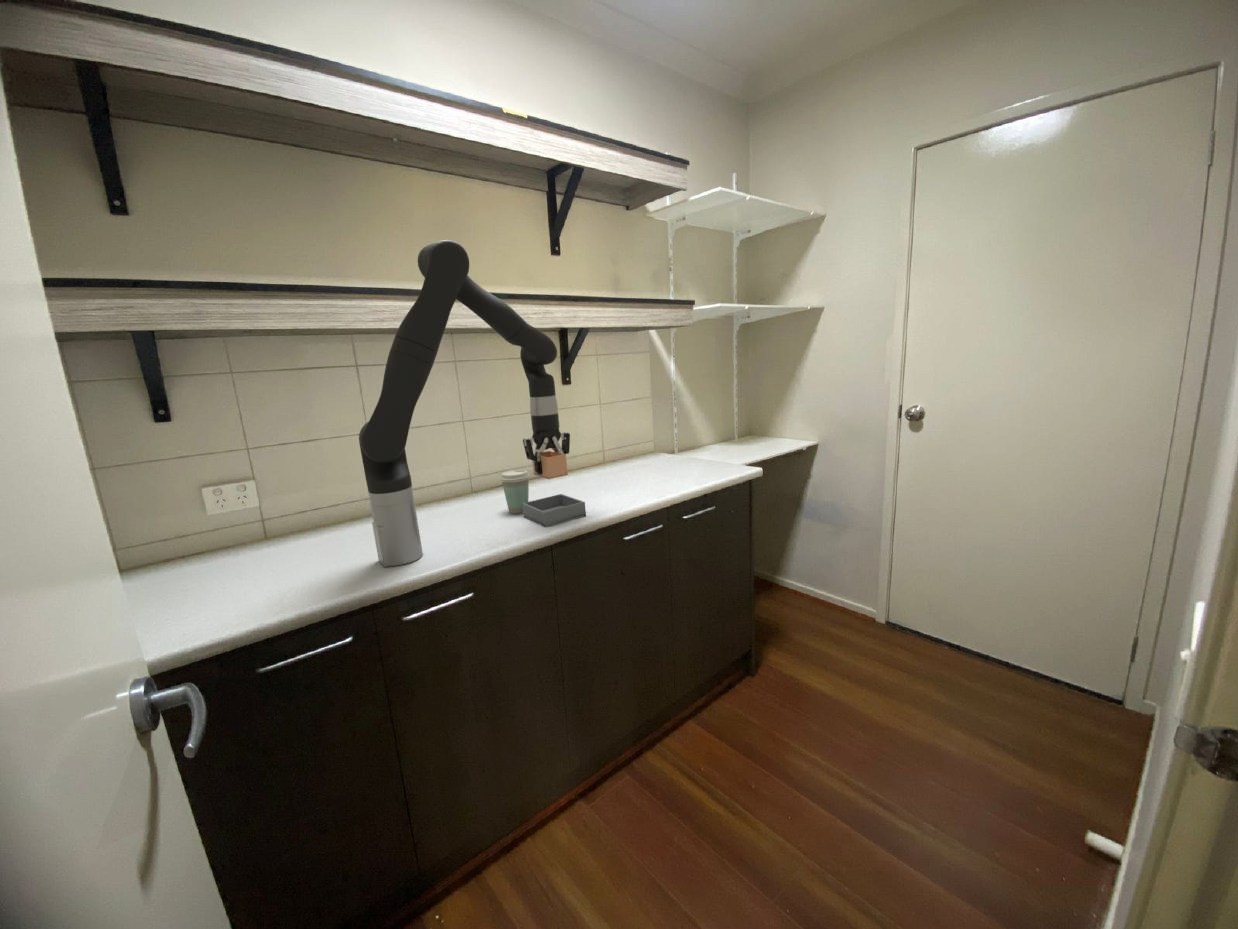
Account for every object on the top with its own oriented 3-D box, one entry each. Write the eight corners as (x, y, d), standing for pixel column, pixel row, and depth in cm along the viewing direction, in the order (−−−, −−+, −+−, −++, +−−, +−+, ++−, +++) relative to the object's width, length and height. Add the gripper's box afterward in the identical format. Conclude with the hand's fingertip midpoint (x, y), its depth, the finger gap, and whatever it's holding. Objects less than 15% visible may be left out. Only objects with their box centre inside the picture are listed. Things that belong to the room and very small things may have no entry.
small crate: (548, 479, 133) (546, 457, 132) (533, 474, 140) (531, 454, 139) (567, 475, 137) (565, 454, 136) (551, 470, 144) (549, 450, 143)
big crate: (545, 526, 132) (543, 512, 131) (523, 516, 143) (521, 503, 142) (585, 515, 140) (584, 502, 139) (562, 506, 150) (561, 493, 149)
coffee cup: (535, 512, 146) (531, 473, 144) (506, 517, 143) (502, 477, 141) (529, 505, 154) (525, 467, 151) (502, 509, 151) (497, 471, 148)
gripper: (526, 416, 128) (533, 478, 131) (573, 410, 136) (578, 469, 140) (514, 415, 134) (521, 474, 137) (560, 409, 142) (565, 465, 146)
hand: (550, 471), depth 138 cm, fingers closed on small crate, 6 cm apart
